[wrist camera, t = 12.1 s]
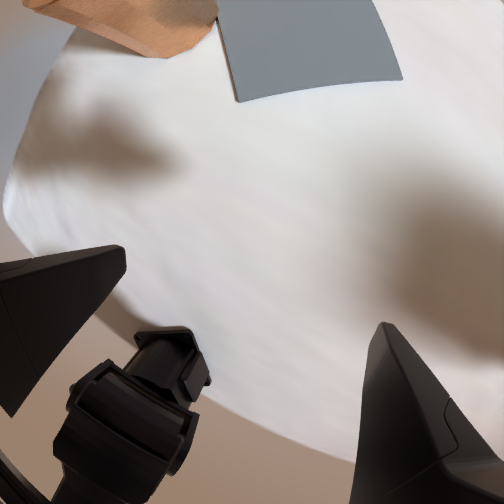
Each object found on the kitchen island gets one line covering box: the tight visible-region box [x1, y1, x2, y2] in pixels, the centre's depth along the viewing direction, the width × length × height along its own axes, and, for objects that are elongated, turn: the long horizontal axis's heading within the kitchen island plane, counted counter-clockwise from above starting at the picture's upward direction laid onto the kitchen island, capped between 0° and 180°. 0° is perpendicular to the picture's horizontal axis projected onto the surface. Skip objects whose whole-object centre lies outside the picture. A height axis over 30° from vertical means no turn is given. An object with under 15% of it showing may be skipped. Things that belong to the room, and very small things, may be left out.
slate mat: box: [216, 0, 403, 103], centre depth 15 cm, size 12×10×1 cm
